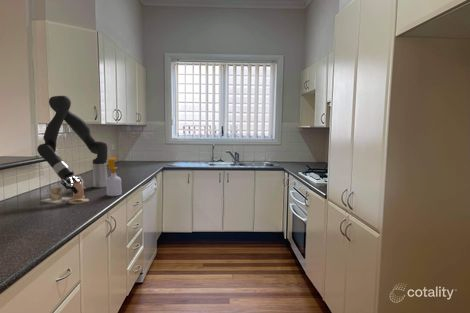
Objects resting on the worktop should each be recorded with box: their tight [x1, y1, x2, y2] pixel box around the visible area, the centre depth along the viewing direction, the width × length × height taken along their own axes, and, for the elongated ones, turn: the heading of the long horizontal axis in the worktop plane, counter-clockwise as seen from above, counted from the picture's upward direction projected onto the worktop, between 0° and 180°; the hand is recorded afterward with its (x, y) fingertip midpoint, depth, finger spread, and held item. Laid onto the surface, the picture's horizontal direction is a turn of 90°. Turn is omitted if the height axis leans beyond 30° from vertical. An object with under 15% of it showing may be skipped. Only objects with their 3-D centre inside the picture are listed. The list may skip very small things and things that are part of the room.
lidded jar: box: [72, 181, 85, 200], centre depth 180 cm, size 6×6×10 cm
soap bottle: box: [105, 156, 123, 197], centre depth 198 cm, size 9×9×25 cm
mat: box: [68, 198, 90, 205], centre depth 181 cm, size 11×11×1 cm
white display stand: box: [39, 186, 73, 205], centre depth 182 cm, size 12×12×8 cm
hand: (80, 191), depth 180 cm, fingers open, 6 cm apart
